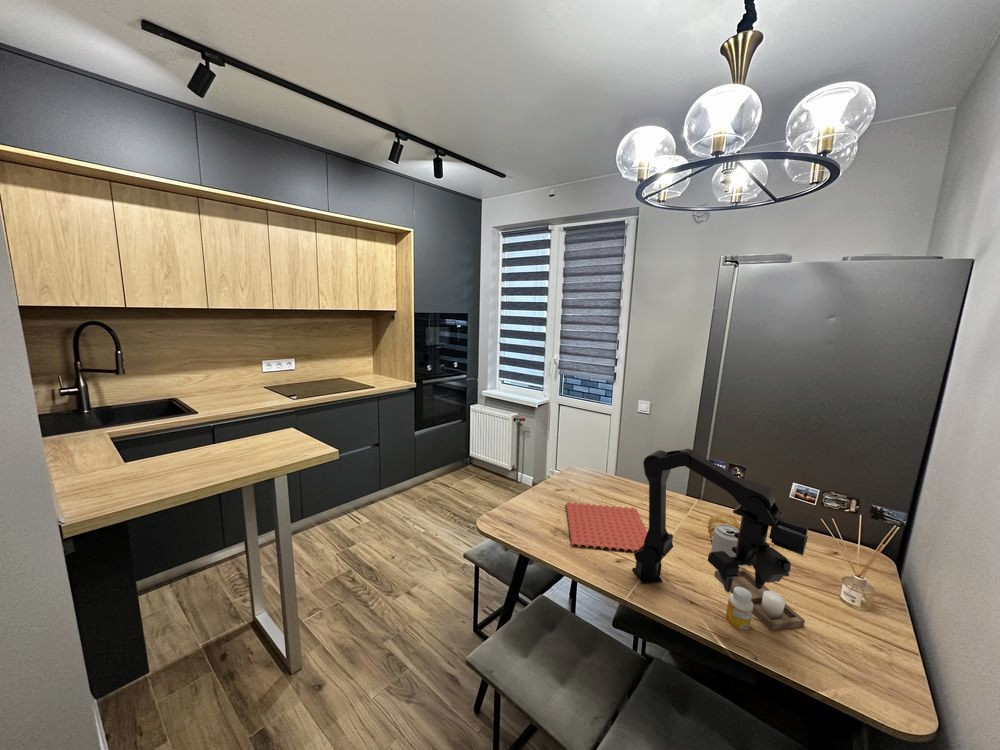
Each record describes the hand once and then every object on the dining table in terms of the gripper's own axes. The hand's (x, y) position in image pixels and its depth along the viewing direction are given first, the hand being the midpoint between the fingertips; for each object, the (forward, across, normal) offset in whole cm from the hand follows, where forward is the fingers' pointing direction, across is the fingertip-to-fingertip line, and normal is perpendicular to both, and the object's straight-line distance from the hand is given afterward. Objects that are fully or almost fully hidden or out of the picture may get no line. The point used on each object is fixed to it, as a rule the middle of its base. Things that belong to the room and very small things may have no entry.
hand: (742, 589), depth 98 cm
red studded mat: (+11, -15, +46) cm, 50 cm away
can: (+10, +15, +23) cm, 29 cm away
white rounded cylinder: (+9, +11, +1) cm, 14 cm away
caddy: (+10, +11, +6) cm, 16 cm away
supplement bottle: (+10, 0, 0) cm, 11 cm away
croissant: (+11, +27, +38) cm, 48 cm away
